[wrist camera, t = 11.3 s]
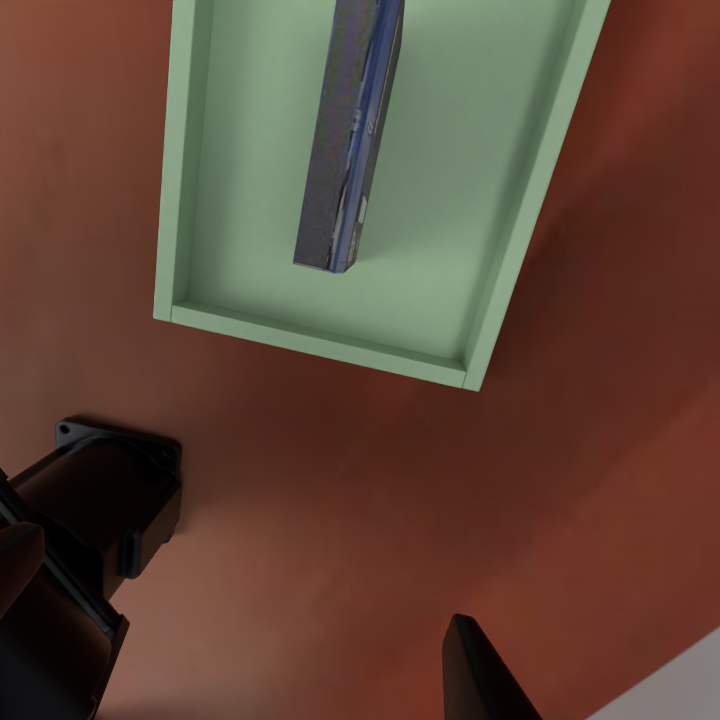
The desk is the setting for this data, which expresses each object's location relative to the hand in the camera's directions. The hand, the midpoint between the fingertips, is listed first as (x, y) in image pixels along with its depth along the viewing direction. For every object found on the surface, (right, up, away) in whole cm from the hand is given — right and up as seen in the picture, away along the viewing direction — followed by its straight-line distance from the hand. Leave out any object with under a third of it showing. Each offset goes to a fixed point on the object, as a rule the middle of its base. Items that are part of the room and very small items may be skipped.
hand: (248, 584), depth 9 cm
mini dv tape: (+2, +13, +8) cm, 16 cm away
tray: (+2, +13, +8) cm, 16 cm away
